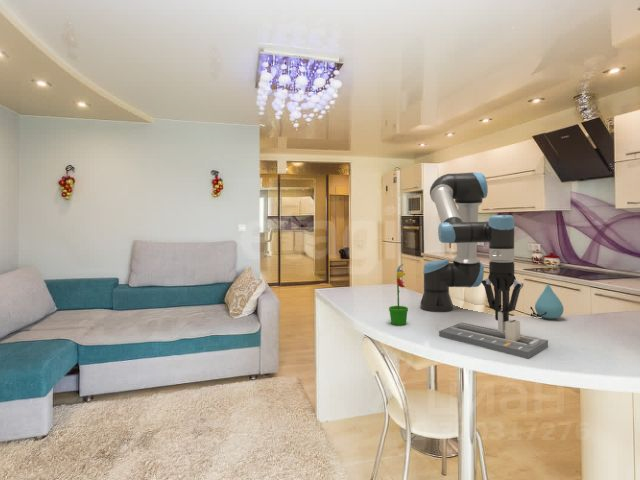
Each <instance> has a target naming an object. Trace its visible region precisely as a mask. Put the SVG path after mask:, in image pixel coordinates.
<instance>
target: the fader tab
mask: <svg viewBox="0 0 640 480" xmlns="http://www.w3.org/2000/svg"><path fill="white" fill-rule="evenodd" d="M520 335H521V321H520V320H516V319H509V320H508V321H506V322H505V339H507V340H511V341H518V340H519V339H520Z"/></svg>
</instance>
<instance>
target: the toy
mask: <svg viewBox="0 0 640 480" xmlns="http://www.w3.org/2000/svg"><path fill="white" fill-rule="evenodd" d="M534 309H535V310H534ZM530 310H532V312H531V313H530V317H536V318H543V319H547V320H554V319H560V317H562V315H563V314H564V305H563V303H562V301H561V300H560V298H559V296H557V294H556V293H555V292H554V290H553V289H552V287H551V285H550V284H549V283H547V284H546V286H545V288H544V290H543V291H542V292H541V294H540V295H539V297H538V299H537V300H536V302H535V305H534V308H533V307H532V306H530Z"/></svg>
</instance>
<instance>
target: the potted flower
mask: <svg viewBox="0 0 640 480" xmlns="http://www.w3.org/2000/svg"><path fill="white" fill-rule="evenodd" d="M403 265H404V263H401V264H400V265H399V266H397V270H396V288H397V289H396V293H397V294H396V295H397V298H396V299H397V301H396V303H397V305H391V306H389V307H388V312H389V316H390V317H389V318H390V323H391V325H394V326H405V325H406V324H407V318H408V311H409V307H407V306H405V305H400V288H405V285H404V284H405V282H404V281H403V280H402V279H401V278H402V277H404V276H405V275H406V273H405V272H404V271H403V270H402V269H401V267H402V266H403ZM399 287H400V288H399Z"/></svg>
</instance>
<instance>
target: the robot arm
mask: <svg viewBox="0 0 640 480" xmlns="http://www.w3.org/2000/svg"><path fill="white" fill-rule="evenodd" d="M488 191H489V190H488V181H487V178H486V176H485V175H484V174H483V173H482V172H473V171H472V172H460V173H446V174H443V175H441V176H439V177H437V178H436V180H434V181H433V183H432V184H431V186H430V189H429V196H430V199H431V201H432V202H433V203H434V204H435V208H436V210H437V211H436V212H437V213H438V218H439V220H440V223H439V224H438V228H437V230H438V231H437V236H438V240H439V242H440V243H443V244H457V245H456V256H455V257H453V262H449V259H448V260H447V259H437V260H431V261H427V262H425V263H424V265H423V271H422V273H423V294H422V298H421V300H420V305H419V307H420V309H421V310H424V311H428V312H436V313H437V312H438V313H439V312H440V313H442V312H444V313H445V312H450V311H453V310H454V305H453V301H452V298H451V295H450V288H477V287H480V285H481V284H482V285H483V287H484V290H485V291H484V292H485V294H486V299H487V303H488V307H489V309H492V310H494V314H495V317H494V318H495V321H497V330H498V331H501V332H503V331H505V322H506V321H508V320H510V312H514V311H515V310H516V308H517V303H518V300H519V297H520V292H521V290H522V288H523V287H524V283H522V282H519V281H518V280H517V278H516V276H515V262H514V260H515V226H516V225H515V217H514V216H513V215H512V214H511V215H510V214H500V215H499V214H497V215H490V216H489V218H488V221H479V207H480V205H482V203H483V199H486V198H487V196H488ZM478 243H488V250H489V251H488V252H489V253H488V254H489V255H488V256H489V260H490V261H489V263H488V269H489V274H488V276H487V277H488V278H486V279H484V274H485V270H484V264H483V263H482V262H480V258H479V257H477V252H478V251H477V249H478ZM491 284H492V285H491ZM492 286H493V289H492ZM512 286H513V289H512V292H511V296H510V291H511V287H512ZM493 291H494V292H493Z"/></svg>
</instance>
